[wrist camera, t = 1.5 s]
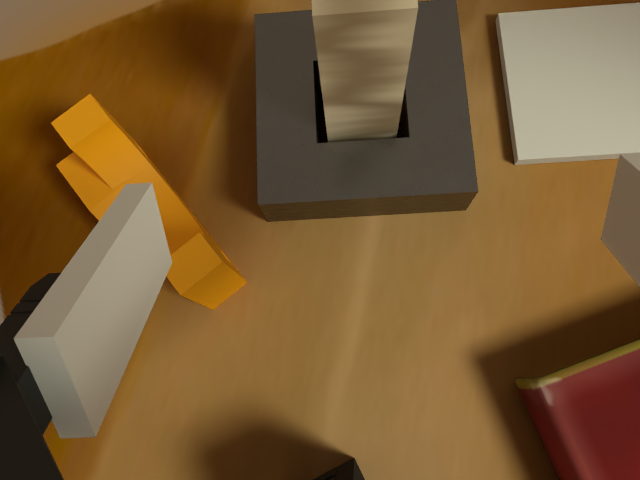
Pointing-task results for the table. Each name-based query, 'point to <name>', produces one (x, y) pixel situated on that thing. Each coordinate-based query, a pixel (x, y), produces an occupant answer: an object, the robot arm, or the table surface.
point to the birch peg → (363, 64)
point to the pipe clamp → (135, 167)
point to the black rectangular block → (343, 472)
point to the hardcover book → (590, 415)
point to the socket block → (366, 155)
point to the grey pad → (572, 82)
